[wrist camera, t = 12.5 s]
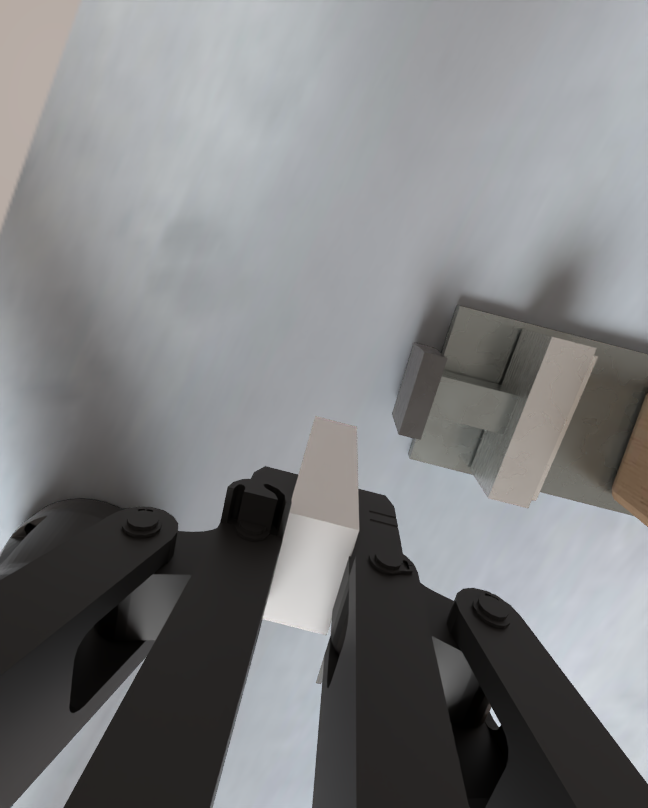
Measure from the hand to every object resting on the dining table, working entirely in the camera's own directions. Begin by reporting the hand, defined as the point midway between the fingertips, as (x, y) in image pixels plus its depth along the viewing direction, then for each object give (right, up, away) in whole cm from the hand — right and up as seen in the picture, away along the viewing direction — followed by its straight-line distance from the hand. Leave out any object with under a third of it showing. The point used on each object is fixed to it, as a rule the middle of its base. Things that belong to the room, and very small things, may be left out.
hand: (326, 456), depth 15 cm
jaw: (+12, +2, +19) cm, 22 cm away
